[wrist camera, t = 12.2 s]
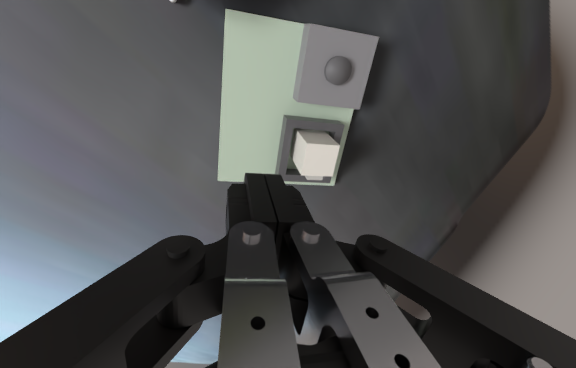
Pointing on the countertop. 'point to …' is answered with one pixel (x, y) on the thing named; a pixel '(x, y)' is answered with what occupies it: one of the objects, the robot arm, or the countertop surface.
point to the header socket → (286, 137)
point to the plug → (314, 153)
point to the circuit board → (284, 86)
